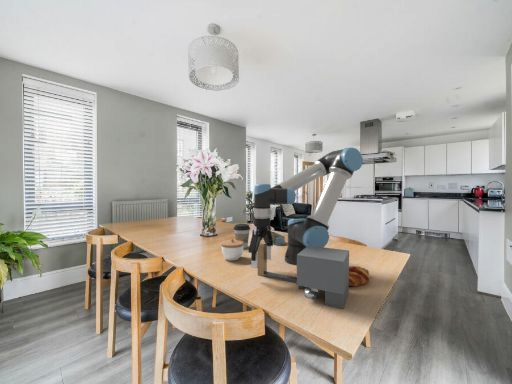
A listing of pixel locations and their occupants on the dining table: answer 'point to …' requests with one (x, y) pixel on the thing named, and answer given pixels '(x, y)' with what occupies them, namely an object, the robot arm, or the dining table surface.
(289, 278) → the hook tool
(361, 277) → the croissant
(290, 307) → the dining table surface
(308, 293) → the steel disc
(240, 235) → the coffee cup
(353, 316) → the dining table surface
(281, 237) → the beverage carton
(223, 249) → the lidded bowl
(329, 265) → the grey l-shaped block
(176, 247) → the dining table surface
